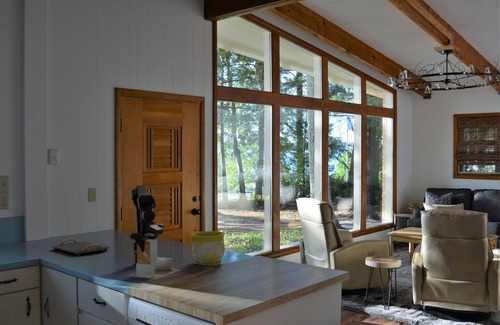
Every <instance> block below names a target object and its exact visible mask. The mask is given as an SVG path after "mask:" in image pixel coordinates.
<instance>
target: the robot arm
mask: <svg viewBox="0 0 500 325" xmlns="http://www.w3.org/2000/svg"><path fill="white" fill-rule="evenodd" d="M146 188H147V187H146V185H144V184H143V185H136V186H135V187H134V189H132V190H131V193H130V200H131V202H132V204H133V206H134V208H135V223H136V224H135V226H136V232H132V233H130V234H129V237H130V238H129V239H130V240H133V241H134V242H133V244H132V254H133V255H134V263H133V264H132V265H133V266H136V263H137V244H138V246H139V248H140V249H141V251H142V252H144V242H145V240H146V239H155V240H157V238H158V237H160V236H161V235H163V233H164V228H165V227H164V224H162V223H160V224H157V225H156V224H155V221H154V220H155V218H156V213H155V212H154V211H153V209H156V206H157V205H156V199H155V197H154V196H153V194H152V193H150V192H148V189H146Z"/></svg>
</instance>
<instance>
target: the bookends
mask: <svg viewBox="0 0 500 325" xmlns="http://www.w3.org/2000/svg"><path fill="white" fill-rule="evenodd" d="M157 260H158V265H156V266H154V265H152V264H142V263H136V265H135V270H136V272H135V274H136V273H137V275H135V276H134V277H135V278H141V277H142V279H149V278H153V277H154V267H156V269H160V270H169V271H172V270H175V269H176V268H174V267H173V266H174V265H173V264H174V263H173V260H174V259H173V258H171V257H161V256H157ZM134 277H133V278H134Z"/></svg>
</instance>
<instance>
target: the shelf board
mask: <svg viewBox="0 0 500 325" xmlns="http://www.w3.org/2000/svg"><path fill="white" fill-rule="evenodd" d="M174 269H175V270H172V271H169V270H160V269H156V266H154V277H153V278H148V279H151V280H159V279H161V278H163V277H166V276H169V275H171V274H174V273H177V272H179V271H181V269H176V268H174ZM135 275H137V273H136V272H135V273H132V274H130V275H129V277H133V278H134V276H135ZM141 278H142V277H140V279H141ZM142 279H143V278H142Z"/></svg>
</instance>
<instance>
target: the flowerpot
mask: <svg viewBox="0 0 500 325" xmlns="http://www.w3.org/2000/svg"><path fill="white" fill-rule="evenodd" d="M224 236H225V232H223V231H219V230H212V231H211V230H208V231H207V230H206V231H198V232H197V231H196V232H191V234H190V237H191V245H190V246H191V255H192V257H193V259H194V260H195V261H194V263H195V264H196V265H199V266H214V267H215V266H216V267H217V266H219V265H220V264H221V263H222V261H223V260H222V258H223V256H225V250H226V246H225V245H226V244H225V238H224Z"/></svg>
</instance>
